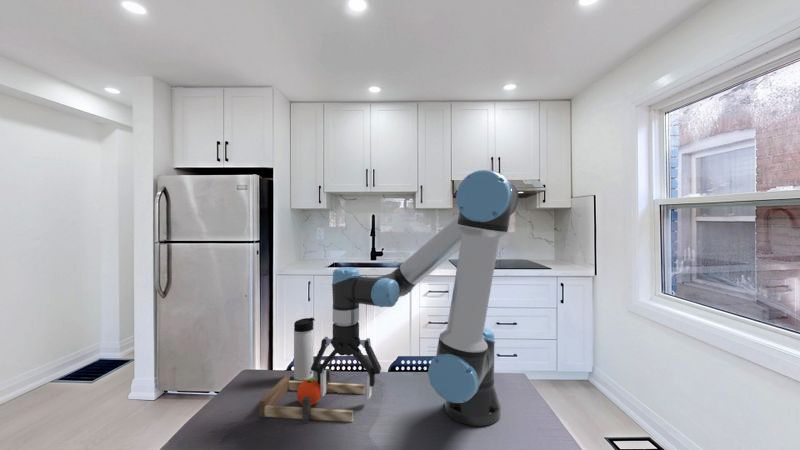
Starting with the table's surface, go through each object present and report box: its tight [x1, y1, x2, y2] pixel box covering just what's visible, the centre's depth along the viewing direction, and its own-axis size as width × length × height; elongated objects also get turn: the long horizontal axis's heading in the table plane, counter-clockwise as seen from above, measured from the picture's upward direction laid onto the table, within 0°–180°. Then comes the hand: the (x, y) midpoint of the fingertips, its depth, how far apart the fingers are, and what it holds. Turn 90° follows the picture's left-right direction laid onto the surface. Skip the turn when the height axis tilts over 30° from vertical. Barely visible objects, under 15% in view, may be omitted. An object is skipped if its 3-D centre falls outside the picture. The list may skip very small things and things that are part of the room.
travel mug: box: [293, 317, 315, 381], centre depth 116 cm, size 6×7×20 cm
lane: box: [258, 368, 366, 424], centre depth 100 cm, size 26×20×6 cm
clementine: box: [296, 377, 322, 407], centre depth 100 cm, size 8×7×7 cm
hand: (346, 395), depth 100 cm, fingers open, 13 cm apart
